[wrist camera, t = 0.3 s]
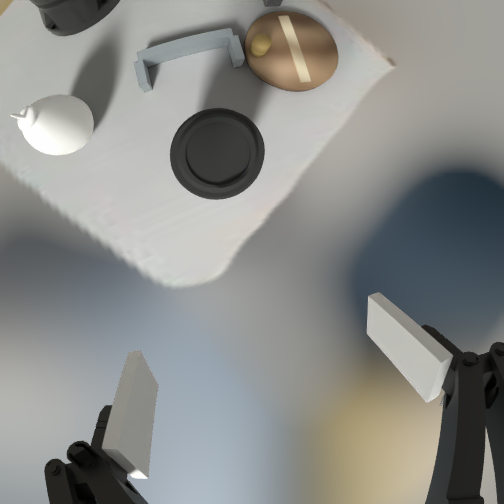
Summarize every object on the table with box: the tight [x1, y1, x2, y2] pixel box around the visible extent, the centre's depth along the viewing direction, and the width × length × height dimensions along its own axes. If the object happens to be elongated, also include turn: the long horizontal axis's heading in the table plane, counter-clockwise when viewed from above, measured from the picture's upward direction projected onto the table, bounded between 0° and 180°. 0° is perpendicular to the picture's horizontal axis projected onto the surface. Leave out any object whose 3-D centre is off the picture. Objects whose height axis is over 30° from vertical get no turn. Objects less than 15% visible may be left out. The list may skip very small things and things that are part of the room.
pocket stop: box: [134, 28, 245, 92], centre depth 30 cm, size 6×14×4 cm, turn 104°
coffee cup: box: [170, 108, 265, 200], centre depth 30 cm, size 9×9×15 cm
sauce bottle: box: [10, 95, 94, 155], centre depth 23 cm, size 8×8×18 cm
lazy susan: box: [244, 11, 338, 92], centre depth 30 cm, size 14×14×5 cm
